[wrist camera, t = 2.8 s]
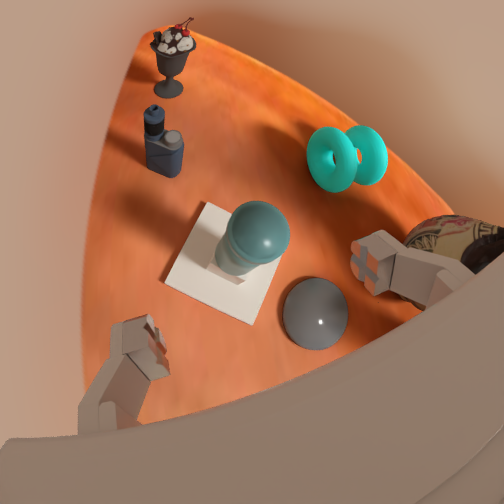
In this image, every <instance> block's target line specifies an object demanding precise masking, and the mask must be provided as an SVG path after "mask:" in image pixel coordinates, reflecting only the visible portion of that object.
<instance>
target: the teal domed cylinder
mask: <svg viewBox="0 0 504 504" xmlns="http://www.w3.org/2000/svg"><path fill="white" fill-rule="evenodd" d="M289 240H290V229H289V225H288V222H287V220H286V218H285V217H284V215H283V214H282V213H281V212H280V211H279V210H278V209H277V208H276V207H274V206H273V205H271V204H269V203H266V202H262V201H250V202H247V203H244V204H242V205H241V206H239V207H238V208H237V209H236V210H235V211H234V212H233V214H232V215H231V217H230V219H229V221H228V223H227V227H226V231H225V233H224V235H223V236H222V238H221V239H220V241H219V243H218V244H217V246H216V249H215V259H216V262H217V264H218V266H219V267H220V269H221V270H222V271H224V272H225V273H227V274H229V275H232V276H241V275H244V274H246V273H248V272H250V271H251V270H253V269H254V268H256V267H258V266H259V265H263V264H267V263H270V262H272V261H274V260H275V259H277V258H278V257H280V256H281V255H282V254H283V253H284V252H285V250H286V249H287V246H288V244H289Z"/></svg>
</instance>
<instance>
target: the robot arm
mask: <svg viewBox="0 0 504 504" xmlns="http://www.w3.org/2000/svg"><path fill="white" fill-rule="evenodd" d="M351 251H352V252H353V255H352V257H351V259H350V266H351V270H352V272H353V274H354V276H355V277H356V278H357V279H358V280H360V281H363V282H364V287H365V288H366V289H367V290H368V291H369V292H370V293H371V294H372V295H373V296H376V295H378V294H380V293H382V292H384V291H386V290H389V289H390V290H391V291H393V292H396V293H398V294H400V295H402V296H405V297H407V298H409V299H411V300H414V301H416V302H418V303H420V304H423V305H425V306H426V309H425V311H423V312H421V313H420V314H418V315H417V316H415V317H413V318H412V319H410V320H408V321H407V322H405V323H403V324H402V325H400V326H398V327H397V328H395V329H393V330H391V331H390V332H388V333H386V334H384V335H383V336H381V337H379V338H377V339H375V340H374V341H372V342H370V343H368V344H366V345H364V346H362V347H360V348H358V349H356V350H355V351H353V352H351V353H349V354H347V355H345V356H343V357H340V358H338V359H336V360H334V361H332V362H330V363H328V364H326V365H324V366H321V367H319V368H317V369H315V370H312V371H310V372H308V373H306V374H303V375H301V376H299V377H296V378H294V379H291V380H289V381H286V382H284V383H281V384H279V385H276V386H274V387H271V388H268V389H266V390H263V391H260V392H258V393H255V394H252V395H249V396H246V397H243V398H241V399H238V400H235V401H232V402H228V403H225V404H222V405H219V406H216V407H212V408H209V409H206V410H202V411H199V412H195V413H191V414H188V415H184V416H180V417H176V418H172V419H168V420H163V421H159V422H154V423H150V424H145V425H142V424H141V423H139V422H138V421H137V417H138V415H139V412H140V409H141V406H142V404H143V401H144V398H145V396H146V393H147V391H148V388H149V385H150V383H151V382H150V381H153V380H156V379H159V378H162V377H166V376H169V375H170V369H169V363H168V360H167V358H166V357H165V354H166V352H167V349H166V344H165V341H164V338H163V336H162V333H161V332H160V330H159V328H156V327H154V320H153V319H152V317H151V316H150V315H149V314H146V315H143V316H139V317H136V318H132V319H129V320H126V321H123V322H120V323H116V324H113V325H112V327H111V339H110V358H109V359H106V361H105V363H104V364H103V366H102V367H101V369H100V371H99V372H98V374H97V375H96V377H95V379H94V380H93V382H92V384H91V385H90V387H89V389H88V390H87V392H86V394H85V395H84V397H83V399H82V401H81V402H80V404H79V406H78V435H72V436H60V437H43V438H11V439H9V440H7V441H6V442H5V444H4V445H3V446H2V448H1V449H0V504H504V252H503V253H502V254H501V255H500V256H498V257H497V258H496V259H495V260H494V261H492V262H491V263H490V264H489V265H487V266H486V267H485V268H484V269H482V270H481V271H480V272H479V273H477V274H476V275H475V274H474V273H473V272H471V271H470V270H469V269H468V268H467V267H466V266H464V265H463V264H462V263H461V262H459V261H458V260H456V259H453V258H449V257H445V256H442V255H438V254H434V253H430V252H427V251H423V250H419V249H415V248H411V247H410V248H407V247H405V246H404V245H403V244H401V243H400V242H399V241H398V240H396V239H395V238H394V237H393V236H391V235H390V234H389V233H387V232H386V231H385V230H379V231H377V232H374V233H372V234H370V235H368V236H365V237H363V238H360V239H357V240H355V241H352V244H351Z"/></svg>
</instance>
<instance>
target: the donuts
mask: <svg viewBox="0 0 504 504" xmlns="http://www.w3.org/2000/svg"><path fill="white" fill-rule="evenodd" d="M357 148H358V149H359V150H360V152H361V154H362V161H361V164H360V163H359V161H358V158H357ZM333 153H334V156H335V159H336V165H335V164H334V162H333ZM307 163H308V167H309V170H310V173H311V175H312V177H313V179H314V180H315V182H316V183H317V184H318V185H319V186H320V187H321V188H323V189H324V190H326V191H328V192H333V193H337V192H342V191H344V190H346V189H347V188H348V187H349V186H350V185H351V184H352V182H353V181H354V182H356V183H358V184H361V185H372V184H375V183H376V182H378V181H379V180H380V179H381V178H382V177H383V175H384V173H385V171H386V168H387V163H388V155H387V150H386V146H385V144H384V142H383V140H382V138H381V137H380V136H379V134H377V133H376V132H375V131H374V130H373V129H371V128H369V127H367V126H362V125H358V126H354V127H351V128H350V129H348V130H347V131H346V132H345V133H343V132H342V131H340V130H339V129H337V128H334V127H322V128H320V129H318V130H317V131H315V132H314V133H313V134H312V136H311V138H310V140H309V142H308V146H307Z"/></svg>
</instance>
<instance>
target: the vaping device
mask: <svg viewBox="0 0 504 504" xmlns="http://www.w3.org/2000/svg"><path fill="white" fill-rule="evenodd" d="M164 118H165V111H164V109H163V108H161V107H159V106H158V105H151V106H150V107H149V108H147V109H146V110H145V112H144V130H145V133H144V139H145V148H146V161H147V168H148V169H150V170H152V171H155V172H157V173H159V174H162V175H164V176H166V177H169V178H173V177H176V176H177V175H178V174H179V173H180V171H181V166H182V158H183V151H184V142H183V138H182V135H181V133H180V132H179V131H176V130H171V131H168V130H165V129H164Z"/></svg>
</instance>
